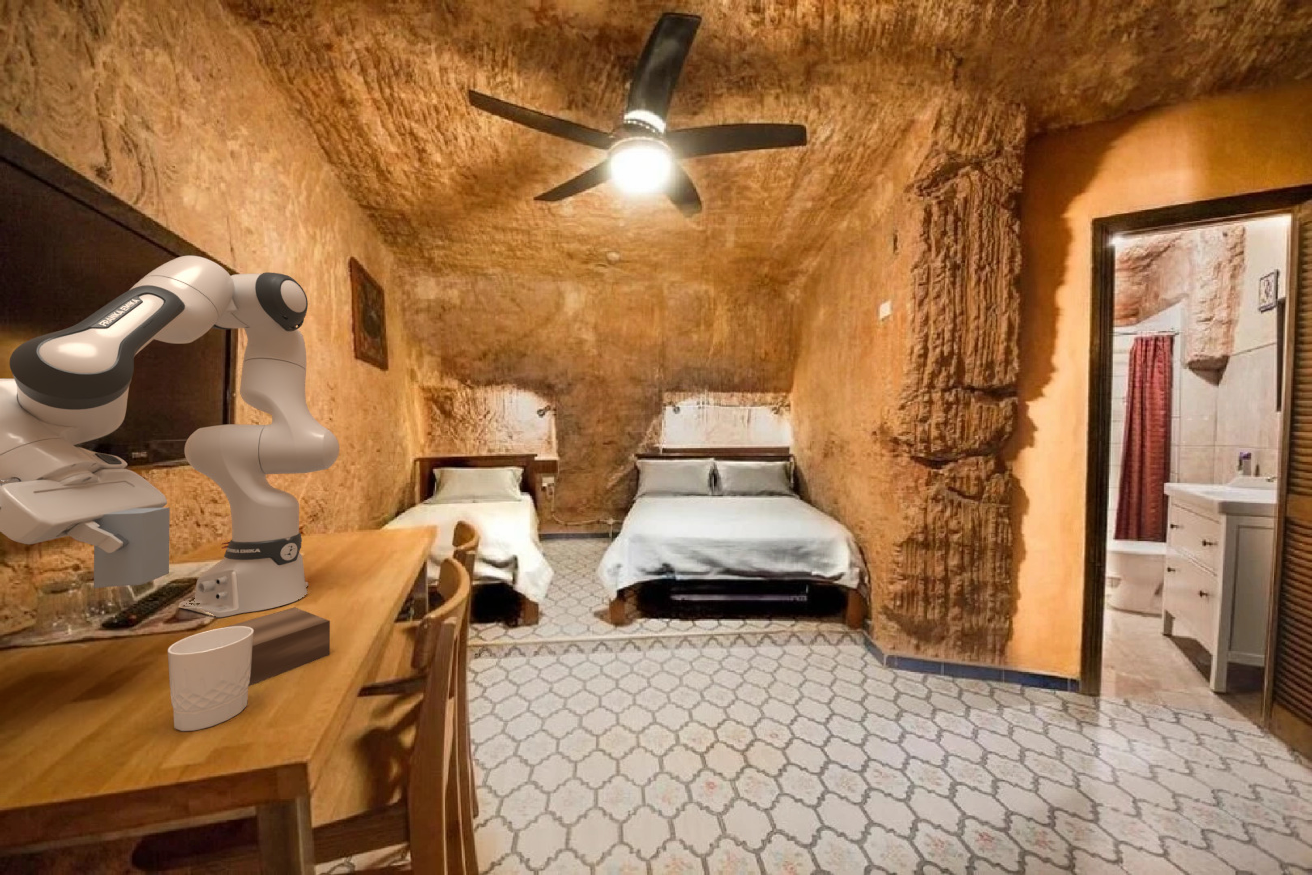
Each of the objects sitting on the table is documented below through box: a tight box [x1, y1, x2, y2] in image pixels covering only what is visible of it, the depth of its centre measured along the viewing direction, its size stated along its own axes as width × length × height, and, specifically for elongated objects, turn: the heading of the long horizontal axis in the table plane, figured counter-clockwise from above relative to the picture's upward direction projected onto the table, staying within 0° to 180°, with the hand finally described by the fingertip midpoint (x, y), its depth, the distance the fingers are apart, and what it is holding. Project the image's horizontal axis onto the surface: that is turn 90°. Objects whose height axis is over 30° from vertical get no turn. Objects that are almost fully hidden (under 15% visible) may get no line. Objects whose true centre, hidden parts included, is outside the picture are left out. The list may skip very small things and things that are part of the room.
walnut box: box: [222, 606, 331, 687], centre depth 70 cm, size 12×12×6 cm
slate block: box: [93, 507, 171, 589], centre depth 62 cm, size 5×5×10 cm
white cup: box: [167, 626, 254, 732], centre depth 57 cm, size 8×8×10 cm
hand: (139, 542), depth 63 cm, fingers closed on slate block, 5 cm apart
